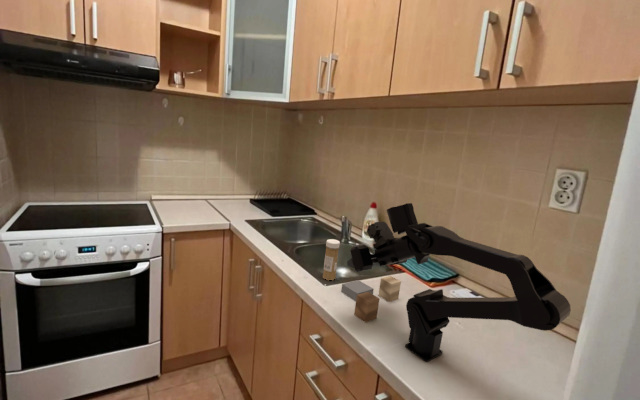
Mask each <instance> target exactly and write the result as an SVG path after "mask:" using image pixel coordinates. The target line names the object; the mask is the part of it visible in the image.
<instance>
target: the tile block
mask: <svg viewBox="0 0 640 400" xmlns="http://www.w3.org/2000/svg"><path fill="white" fill-rule="evenodd" d="M340 292H341V293H342V294H344V295H346V296H347V297H348V298H350V299H352V300H354V301H355V302H356V298H357V295H359V294H362V293H366V292H369V293H371V294H373V295H374V288H373V287H371V286H370V285H368V284H366V283H365V282H363V281H361V280H359V279H356V280H352V281H349V282H344V283H342V285H341V291H340Z"/></svg>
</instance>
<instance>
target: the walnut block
mask: <svg viewBox="0 0 640 400" xmlns="http://www.w3.org/2000/svg"><path fill="white" fill-rule="evenodd" d="M379 304H380V297H378V296H376V295H374V293H373V294H371V293H369V292H366V293H362V294H359V295H357V298H356V301H355V304H354V305H355V306H354V316H355V317H356V318H358V319H360V320H361V321H362V322H364V323H368V322H371V321H373V320H377V317H378V311H379V306H380V305H379Z"/></svg>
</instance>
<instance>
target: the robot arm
mask: <svg viewBox="0 0 640 400" xmlns="http://www.w3.org/2000/svg"><path fill="white" fill-rule="evenodd" d="M414 210H415V209H414V206H413V203H412V202H408V203H405V204H400V205H397V206H391V207H390V208H387V209H386V210H385V211H386V214H387V217H388V221H389V223H390V226H391V228H390V226H389V225H388V224H387V222H386V221H375V222H374V223H371V224H369V225H368V226H367V228H366V233H367V235H368V236H369V238H370V239H373V241H374V243H373V248H374V253H372V254H371V252H370V248H369V247H368V246H367V245H356V246H354V247H351V248H350V250H349V251H350V255H351V258H349V260H347V262H346V264H347V265H346V266H348V267H350V268H352V269H354V271H355V272H356V273H360V272H364V271H365V272H366V271H369V270H372V268H373V266H374V264H378V265H379V266H380V267H383V266H396V265H401V264H404V263H407V262H408V260H410V259H413V258H414V259H415V261H416V264H417V265H421V264H426V263H428V262H429V257H430V255H435V256H447V257H454V258H456V259H460V260H462V261H465V262H468V263H471V264H474V265H477V266H481V267H483V268H486V269H489V270H492V271H495V272H497V273H500V274H503V275H505V276H506V278H507V279H508V281H509V282H510V285H511V288H512V291H513V293H514V296H512V297H506V296H505V297H499V296H498V297H448V296H446V295H444V290H443V288H441V289H437V290H436V289H435V290H433V289H430V288H429V289H426V290H423V291H420V292H417V293H415V294H414V295H413V297H411V298H409V299H408V300H407V302H406V305H405V306H406V312H407V319H408V327H409V329H410V330H409V336H408V337H409V338H408V343H406V344H405V346H404V347H405V348H406V349H407V350H408V351H410V352H412V353H413V354H415V355H416V356H417V357H419V358H420V359H422V360H423V361H424V362H427V363H428V362H430V361H432V360H433V359H435V358H437V357H439V356H441V355H443V353H444V352H443V350H442V349H441V344H442V339H443V333H444V331H443V330H442V329H443V328H447V326H448V324H449V323H450V318H452V319H453V318H454V319H457V318H458V319H471V320H472V319H474V320H499V321H500V320H501V321H509V322H513V323H515V324H518V325H520V326H522V327H526V328H528V329H529V328H530V329H535V330H540V331H543V332H544V331H551V330H555V328H557V327H558V326H559V325H560V324H562V323H563V322H564V321H565V320H567V318H568V317H569V316H570V313H571V311H572V310H571V304H570V302H569V300H568V298H566V296H564V295H563V294H562V293H561V292H559V291H557V289H556V288H555V286H554V285H553V283H552V282H551V280H550V279H548V278H547V276H546V275H544V274H543V273H542V272H541V271H540V270H539V269H538V268H537V267H536V265H535V264H534V263H533V261H532V260H531V259H530V258H529V257H528V256H526V255H523V254H516V253H513V252H510V251H506V250H503V249H500V248H497V247H493V246H489V245H486V244H482V243H479V242H475V241H472V240H469V239H466V238H463V237H461V236H459V235H458V234H457V233H456V232H455V231H453V230H451V229H448V228H446V227H444V226H442V225H431V224H428V223H426V222H420V223H418V220H417V216H416V214H415V211H414ZM395 233H397V235H399V236H400V235H403V234H406V235H403V236H400V237H399V236H398V237H396V238H395V236H394V234H395Z"/></svg>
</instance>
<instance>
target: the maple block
mask: <svg viewBox="0 0 640 400" xmlns="http://www.w3.org/2000/svg"><path fill="white" fill-rule="evenodd" d="M401 283H402V281H401V280H399V279H397V278H396V277H394V276H392V275H388V276H384V277H380V282H379V288H378V289H379V290H378V296H379V298H382V299H383V300H384V301H386V302H388V303H390V302H394V301H396V300H399V297H400V291H401V290H400V289H401V285H402V284H401ZM378 296H377V297H378Z"/></svg>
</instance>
